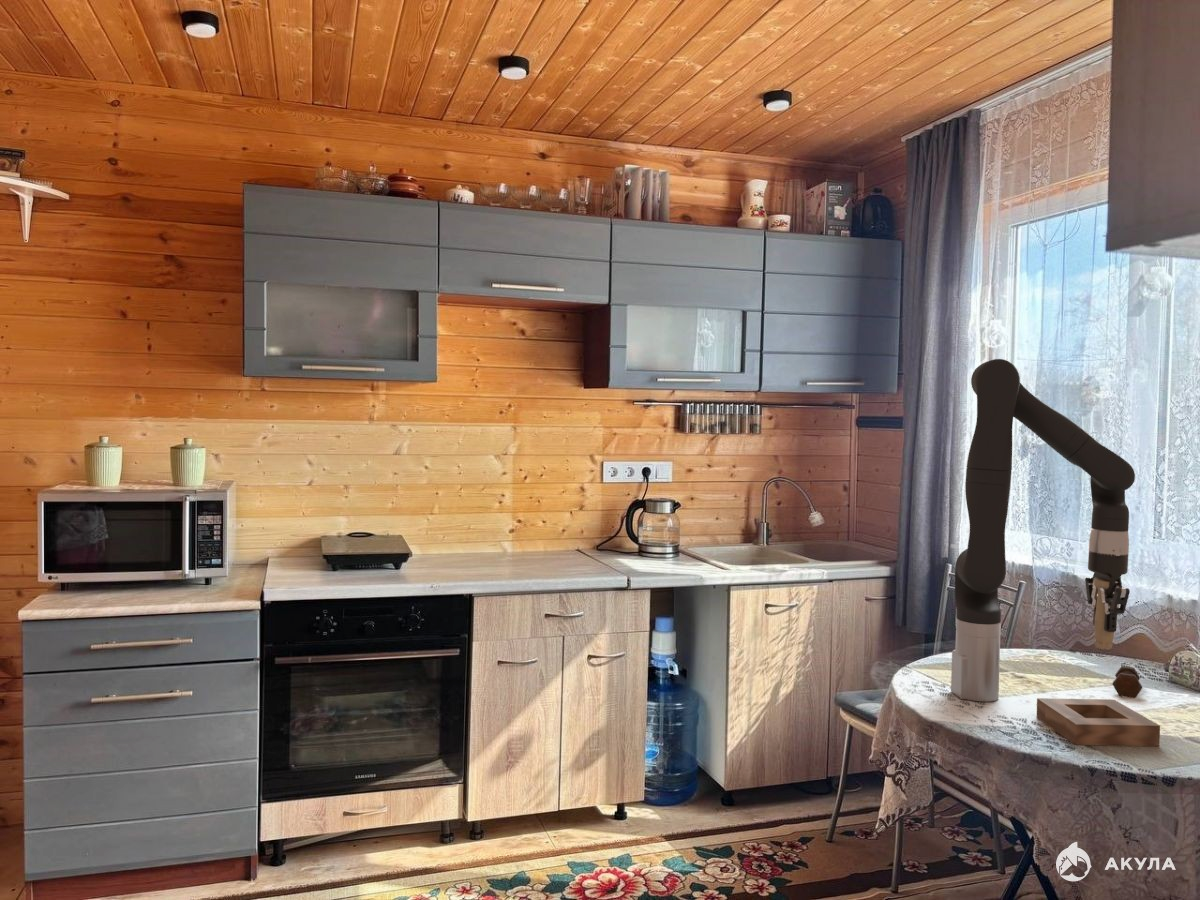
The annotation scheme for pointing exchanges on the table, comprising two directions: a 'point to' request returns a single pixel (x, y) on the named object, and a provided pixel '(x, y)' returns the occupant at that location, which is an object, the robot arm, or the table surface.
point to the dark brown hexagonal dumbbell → (1127, 682)
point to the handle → (1102, 618)
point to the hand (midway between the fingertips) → (1104, 628)
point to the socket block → (1098, 722)
